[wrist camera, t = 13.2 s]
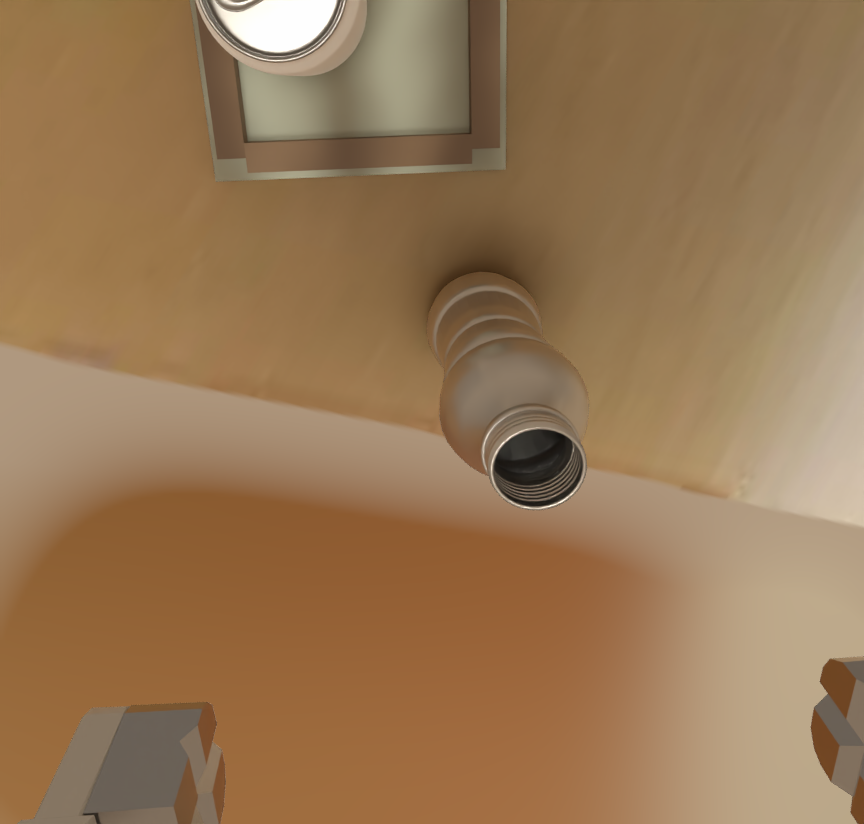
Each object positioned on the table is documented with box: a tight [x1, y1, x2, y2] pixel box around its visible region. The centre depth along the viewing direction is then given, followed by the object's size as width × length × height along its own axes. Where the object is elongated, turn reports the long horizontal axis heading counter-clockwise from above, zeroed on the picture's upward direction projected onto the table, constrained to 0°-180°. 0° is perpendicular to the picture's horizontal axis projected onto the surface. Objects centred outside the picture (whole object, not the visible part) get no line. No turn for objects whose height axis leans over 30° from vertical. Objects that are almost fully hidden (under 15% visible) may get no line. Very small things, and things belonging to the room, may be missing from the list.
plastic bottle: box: [427, 272, 589, 510], centre depth 37 cm, size 6×7×20 cm
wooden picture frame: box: [190, 0, 507, 182], centre depth 39 cm, size 16×16×2 cm
